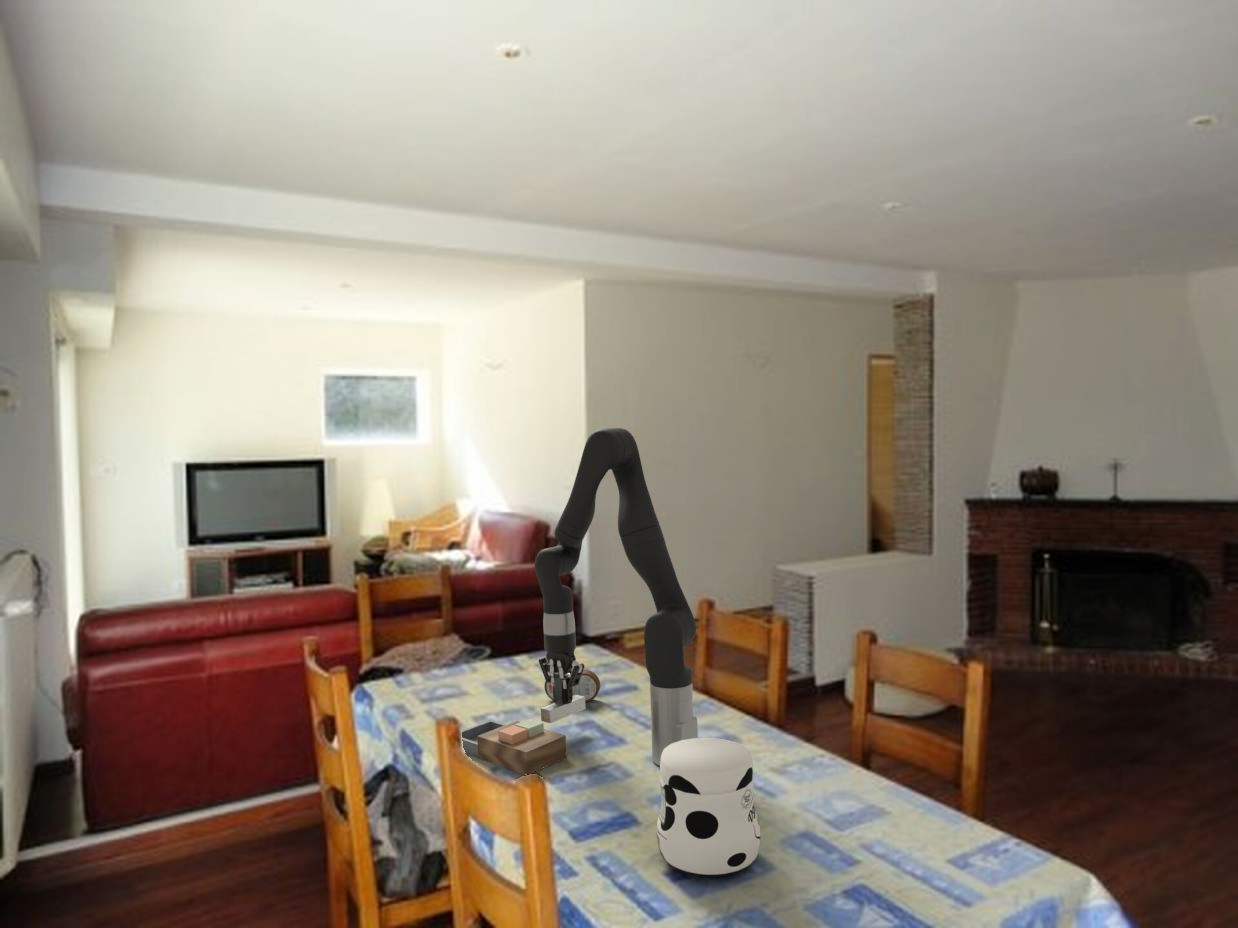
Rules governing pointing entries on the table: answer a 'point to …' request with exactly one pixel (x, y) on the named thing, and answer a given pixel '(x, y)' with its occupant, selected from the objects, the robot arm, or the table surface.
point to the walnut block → (522, 750)
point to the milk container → (707, 807)
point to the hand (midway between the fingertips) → (563, 701)
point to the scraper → (561, 704)
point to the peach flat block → (512, 734)
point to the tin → (580, 686)
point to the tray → (471, 735)
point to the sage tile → (531, 727)
